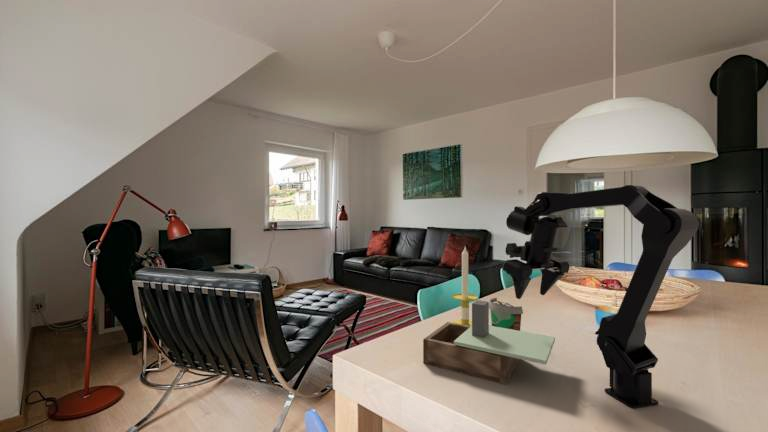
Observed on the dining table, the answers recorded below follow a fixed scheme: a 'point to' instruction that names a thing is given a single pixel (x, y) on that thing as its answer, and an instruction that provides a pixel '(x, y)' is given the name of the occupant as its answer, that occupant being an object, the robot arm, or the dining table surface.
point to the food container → (505, 315)
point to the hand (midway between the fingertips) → (530, 296)
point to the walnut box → (465, 356)
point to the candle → (464, 293)
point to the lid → (504, 338)
